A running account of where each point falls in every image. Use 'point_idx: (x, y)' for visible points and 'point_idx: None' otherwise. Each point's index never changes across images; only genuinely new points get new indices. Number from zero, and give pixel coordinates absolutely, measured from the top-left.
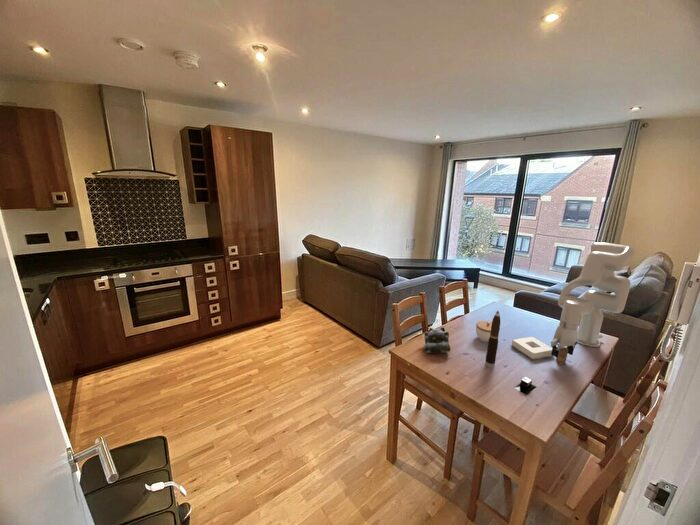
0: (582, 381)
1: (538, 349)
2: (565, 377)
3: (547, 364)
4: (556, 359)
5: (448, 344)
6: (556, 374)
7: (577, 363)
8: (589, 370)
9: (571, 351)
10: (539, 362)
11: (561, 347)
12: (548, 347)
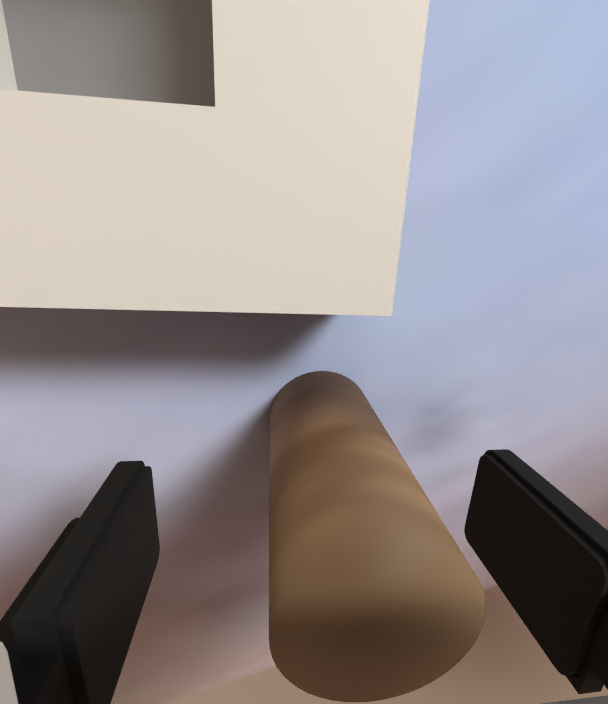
0: (215, 672)
1: (13, 198)
2: None
3: (93, 420)
4: (279, 405)
5: None
6: None
7: (474, 481)
8: None
9: (506, 590)
10: (8, 359)
11: (369, 593)
12: (350, 204)
